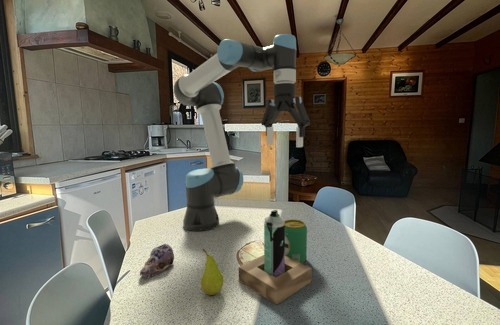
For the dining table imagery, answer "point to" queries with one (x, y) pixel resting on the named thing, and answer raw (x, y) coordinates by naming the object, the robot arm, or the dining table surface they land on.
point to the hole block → (275, 279)
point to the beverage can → (295, 240)
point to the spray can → (274, 244)
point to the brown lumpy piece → (158, 260)
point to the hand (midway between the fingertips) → (284, 146)
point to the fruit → (211, 277)
